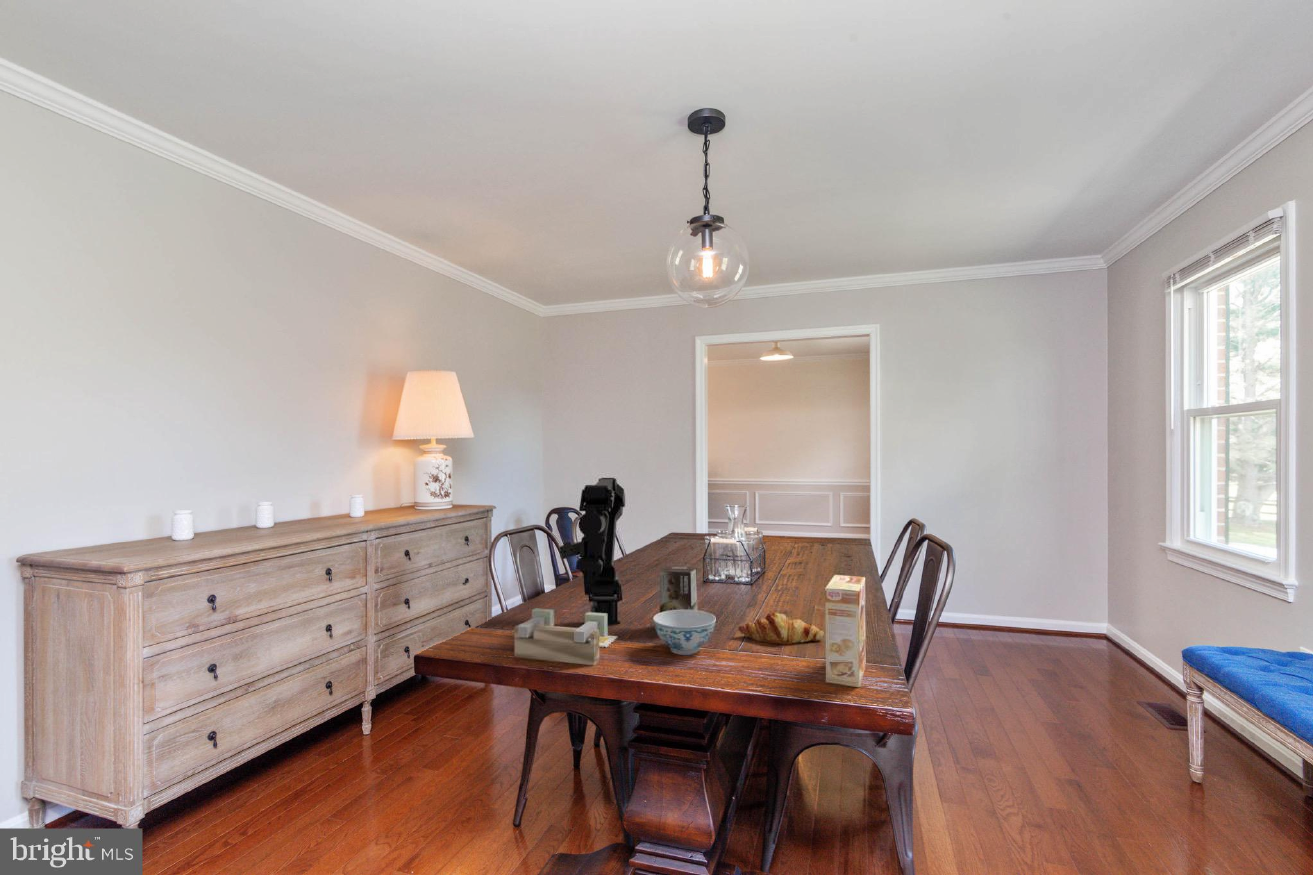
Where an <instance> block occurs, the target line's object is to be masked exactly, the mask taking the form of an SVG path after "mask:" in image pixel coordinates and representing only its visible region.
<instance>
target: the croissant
mask: <svg viewBox="0 0 1313 875" xmlns="http://www.w3.org/2000/svg"><path fill="white" fill-rule="evenodd" d="M738 632H739V633H741V635H742V634H743V635H744V636H746V637H749V638H751V639H752V640H755V641H756V642H765V643H770V644H783V645H786V644H787V645H788V644H790V645H791V644H796V643H804V642H809V641H813V642H815V641H819V640H822V639H823V638H824V637H825V636H824V635H825V632H824V631H823V630H821V629H819V628H817V626H815V625H814V624H811V625H810V624H807V623H806V622H804V621H803V620H802V619H800V618H797V617H796V618H792V617H791V618H788V617H787V616H786V615H785V614H783V613H779V612H769V613H767V614H766V615H765V617H763V618H762V617H759V618H757V620H756V621H755V622H747V623H745V624H744V625H738Z"/></svg>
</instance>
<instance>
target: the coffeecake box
mask: <svg viewBox="0 0 1313 875" xmlns="http://www.w3.org/2000/svg"><path fill="white" fill-rule="evenodd" d="M824 591H825V595H824V596H825V597H824V598H825V600H824V602H825V604H824V605H825V607H824V608H825V610H824V611H825V612H824V613H825V683H827V684H837V685H840V686H841V685H843V686H848V687H856V688H861V685H862V681H863V677H864V673H865V669H866V665H867V661H866V660H867V657H866V656H867V655H866V650H867V649H866V647H867V646H866V642H867V641H866V577H865V576H858V575H857V576H856V575H842V574H841V575H840V574H834V575H833V576H832V578H831V579H830V580H829V582H828V583H827V585H826V586H825V588H824Z"/></svg>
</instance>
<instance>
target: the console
mask: <svg viewBox="0 0 1313 875" xmlns="http://www.w3.org/2000/svg"><path fill="white" fill-rule="evenodd" d="M521 624H523V623H519V624H517V625H515V626H514V629H513V630H514V635H513V636H514V658H519V659H529V660H530V659H531V660H538V661H539V660H540V661H547V662H548V661H549V662H559V663H569V664H579V665H589V666H595V665H596V664H598V663H599V662H600V647H599V630H594V631H593V632H591V633H590V640H587V641H586V642H584V643H581V642H574V631H575V630H576V629H578V628H579V627H568V626H557V625H556V626H555V625H554V626H545V625H539V626H537V627H536V628H534V634H533V635H531V636H529V637H528V638H525V637H518V626H520V625H521Z"/></svg>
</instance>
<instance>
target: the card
mask: <svg viewBox="0 0 1313 875" xmlns="http://www.w3.org/2000/svg"><path fill="white" fill-rule="evenodd" d="M616 638H617V639H618V635H609V634H608V635H606V636H605V637H599V648H604V647H606V648H607V647H609V646H610V645H611V644H612V643H613V642H614V641H616V640H617V639H616ZM615 639H616V640H615ZM588 640H590V639H588ZM611 642H612V643H611ZM609 644H610V645H609Z"/></svg>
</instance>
